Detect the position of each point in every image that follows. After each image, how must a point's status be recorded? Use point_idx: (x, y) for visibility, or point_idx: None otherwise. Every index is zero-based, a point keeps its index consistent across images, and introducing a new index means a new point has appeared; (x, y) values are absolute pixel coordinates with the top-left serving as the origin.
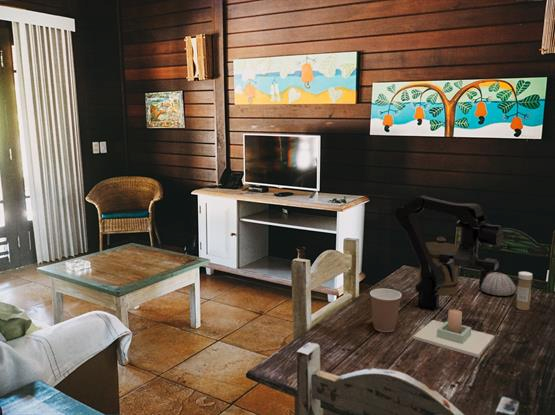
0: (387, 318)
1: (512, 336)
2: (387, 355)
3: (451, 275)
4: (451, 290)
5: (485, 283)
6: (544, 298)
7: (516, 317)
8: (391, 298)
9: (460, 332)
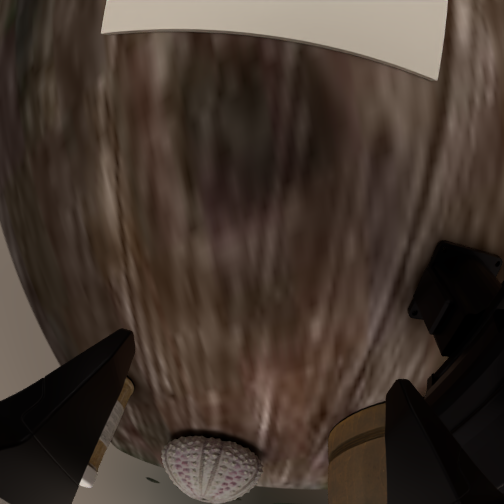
0: None
1: (57, 111)
2: None
3: (435, 433)
4: (350, 429)
5: (238, 470)
6: None
7: (99, 309)
8: None
9: None
